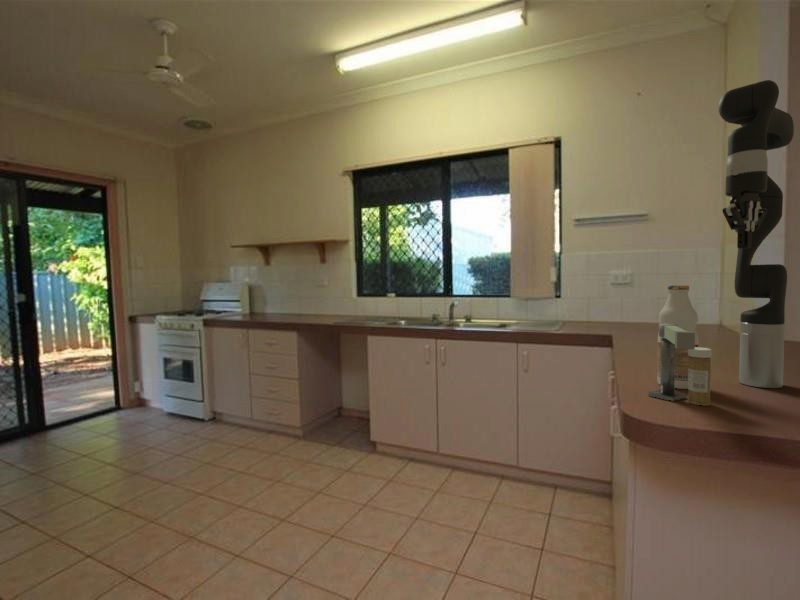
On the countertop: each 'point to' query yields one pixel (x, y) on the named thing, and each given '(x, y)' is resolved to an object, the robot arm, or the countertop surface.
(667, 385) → the post
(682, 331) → the swing bar
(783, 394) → the countertop surface
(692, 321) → the fruit juice
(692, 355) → the sprinkles bottle
